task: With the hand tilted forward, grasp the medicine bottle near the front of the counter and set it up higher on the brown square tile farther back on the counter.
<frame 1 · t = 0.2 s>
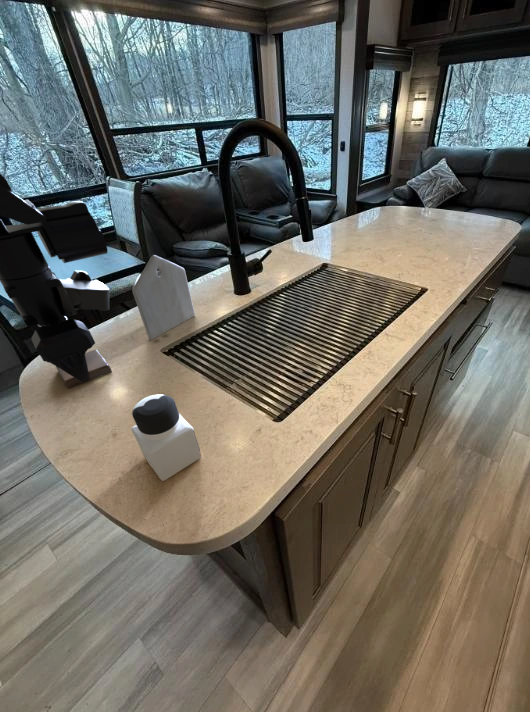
hand: (78, 367, 53), 14 cm above the worktop, tool pointing down, fingers open, 9 cm apart
grey house-shaped board: (164, 324, 93), on the worktop
brown square tile: (85, 371, 75), on the worktop
medicine bottle: (173, 457, 56), on the worktop
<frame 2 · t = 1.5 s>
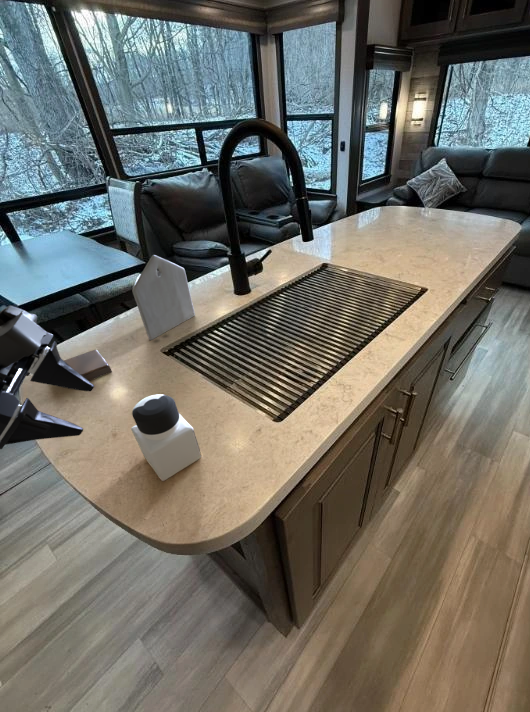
hand: (87, 408, 46), 13 cm above the worktop, tool tilted 45°, fingers open, 9 cm apart
nothing on the worktop moved.
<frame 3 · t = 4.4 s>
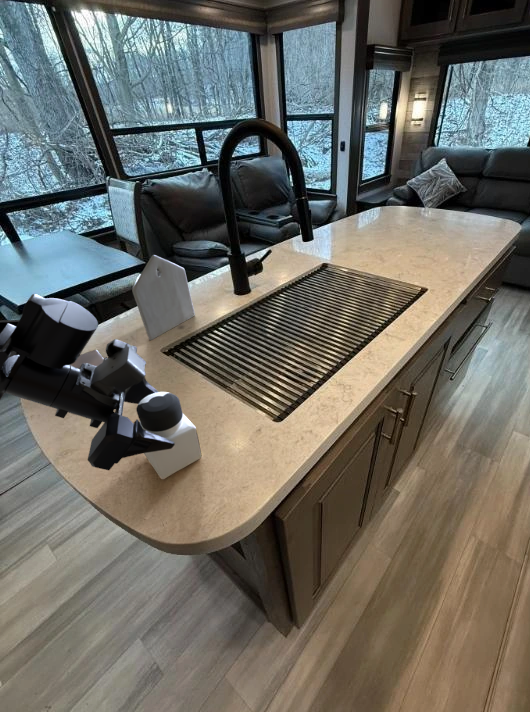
hand: (172, 424, 52), 7 cm above the worktop, tool tilted 45°
medicine bottle: (173, 456, 56), on the worktop, touching gripper
everything else where it was.
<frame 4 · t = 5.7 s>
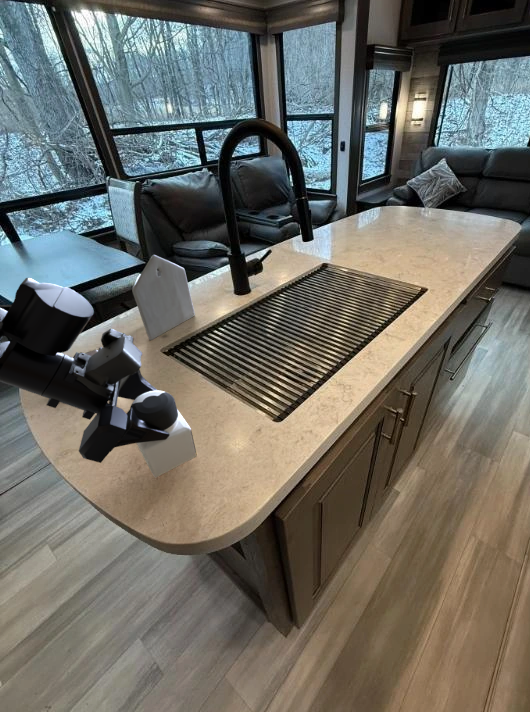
hand: (167, 418, 51), 9 cm above the worktop, tool tilted 45°, fingers closed on medicine bottle, 7 cm apart
medicine bottle: (168, 453, 55), point 1 cm above the worktop, touching gripper
everything else where it was.
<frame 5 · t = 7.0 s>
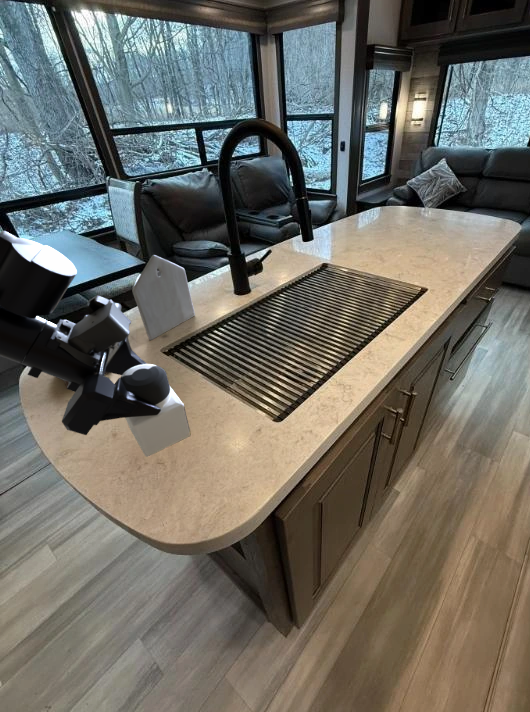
hand: (159, 394, 48), 13 cm above the worktop, tool tilted 45°, fingers closed on medicine bottle, 7 cm apart
medicine bottle: (160, 433, 52), point 6 cm above the worktop, touching gripper
everything else where it was.
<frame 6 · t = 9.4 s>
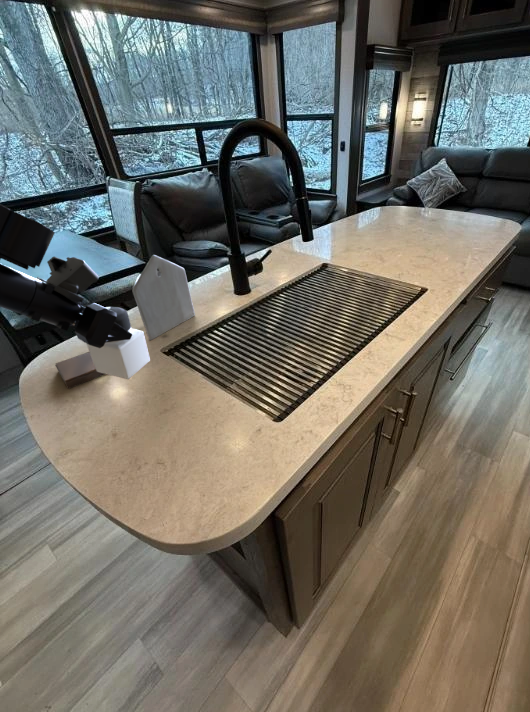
hand: (119, 330, 63), 13 cm above the worktop, tool tilted 45°, fingers closed on medicine bottle, 7 cm apart
medicine bottle: (124, 367, 67), point 6 cm above the worktop, touching gripper
everything else where it was.
when the fingers open (10 cm above the worktop, at t = 13.0 s): medicine bottle stays where it is, resting on brown square tile.
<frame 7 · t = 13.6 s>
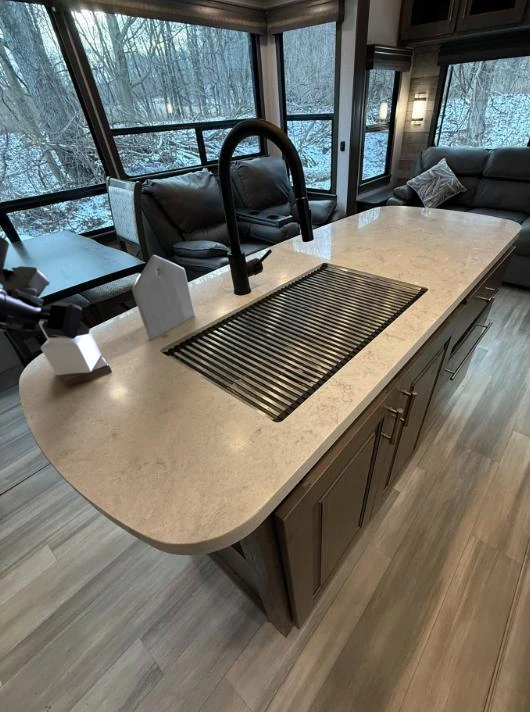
hand: (69, 329, 70), 10 cm above the worktop, tool tilted 45°, fingers open, 9 cm apart
medicine bottle: (80, 365, 74), point 2 cm above the worktop, touching brown square tile
everything else where it was.
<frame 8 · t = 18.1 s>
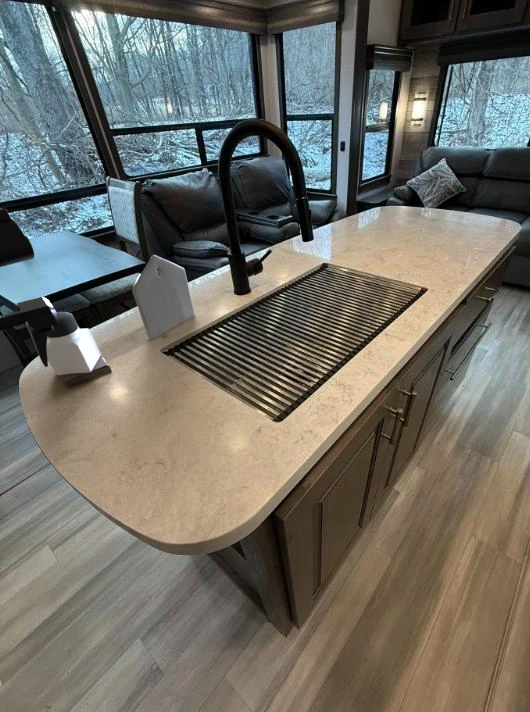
hand: (13, 377, 52), 13 cm above the worktop, tool pointing down, fingers open, 9 cm apart
nothing on the worktop moved.
at the end: medicine bottle 0.4 cm off-centre on the brown square tile, point 1.8 cm above the brown square tile's base; medicine bottle tilted 0° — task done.
